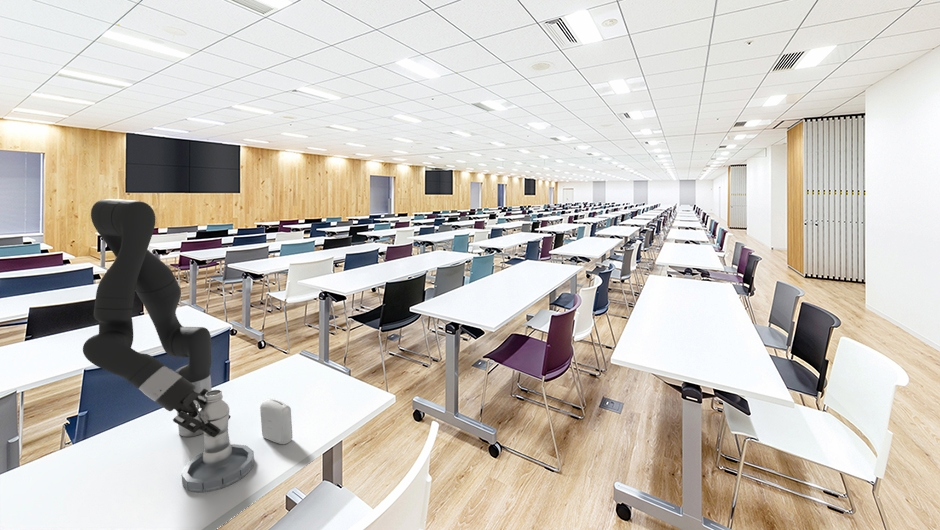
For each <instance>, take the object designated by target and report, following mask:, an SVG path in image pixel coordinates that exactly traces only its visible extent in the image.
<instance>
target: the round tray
mask: <svg viewBox="0 0 940 530" xmlns="http://www.w3.org/2000/svg"><path fill="white" fill-rule="evenodd" d="M231 447H232V456H231V458H230V460H229V461H228V462H227V463H226V464H225V465H223V466H221V467H218V468H207V467H206V466H205V465H204V462H203V452H202V453H200V454H198V455H197V456H195V457H193V458H192V459H191V460H190V461H188V462H187V463H186V464H185V465H184V468H183V469H182V472H181V475H180V476H181V484H182V486H183V488H184V489H186V490H187V491H189V492H193V493H207V492H213V491H217V490H220V489H221V490H222V489H225V488H226V487H229V486H231V485H233V484H235V483H237V482H239V481H241V480H242V479H243V478H245V477H246V476H247V475H248V474H249V473H250V471H251V470H252V469H253V467H254V465H255V455H254V453H255V452H254V450H253V449H252V448H250V447H249V446H248V445H247V444H246V445H244V444H235V443H234V444H231Z"/></svg>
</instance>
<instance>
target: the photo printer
mask: <svg viewBox="0 0 940 530" xmlns="http://www.w3.org/2000/svg"><path fill="white" fill-rule="evenodd" d="M259 409H260V410H259V411H260V424H261V435H262V437H263V438H264V439H266V440H269V441H271V442H273V443H276V444H278V445H279V444H280V445H286V444H288V443H290V442H292V439H293V424H292V410H291V407H290V406H289V404H287V403H286V402H284V401H282V400H280V399H278V398H277V399H276V398H267V399H266V400H263V401H262V402H261V403H260V408H259Z"/></svg>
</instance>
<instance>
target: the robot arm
mask: <svg viewBox="0 0 940 530" xmlns="http://www.w3.org/2000/svg"><path fill="white" fill-rule="evenodd" d="M90 218H91V222H92V224H93V227H94V228H95V230H96V231H97V233H98V234H99V236H100V238H101V239H102V241H104V242H105V243H106V245H107V246H108V248H109V249H110V251H111V252H112V253H113V254H114V257H115V259H114V261H113V263H112V264H111V266H109V268H108V269H107V271H106V272H105V274H104V275H103V276H102V278H101V279H100V280H99V283H98V286H97V289H96V292H95V301H94V308H93V318H94V320H96V321H98V333H97V334H94V335H93V336H91V337H89V338H88V339H87V340H85V342H84V343H83V346H82V352H83V355H84V357H85V359H87V361H88V362H90V363H91V364H92V365H95V366H96V367H98V368H100V369H102V370H104V371H106V372H109V373H111V374H114V375H116V376H118V377H121V378H123V379H124V381H125V380H126V381H127V382H128V383H129V384H131V385H132V386H134V387H135V388H137V389H138V390H139V391H141V392H142V393H143V394H144V395H145V396H146V397H148V398H149V399H150V400H152V401H154V402H155V403H156V404H158V405H159V406H161V407H162V408H164V409H165V410H167V412H172V411H174V410H175V411H176V414H177V415H176V416H175V417H174V418H173V419H172V421H173V423H176V424H177V427H178V434H179V435H180V437H186V438H187V437H188V438H191V437H195V436H199V435H202V434H203V435H204V432H205V433H207V434H209V435H210V436H212V437H215V436H216V435H218V434H219V432H220V431H221V430H220V429H219V428H218V427H216V426H215V425H213V424H212V423H210V422H208V421H207V420H206V419H205V418H204V412H203V410H202V409H203V407H204V406H205V404H206V402H205V394H206V393H207V392H209V391H212V390H213V388H212V379H211V377H212V376H211V367H212V362H213V361H212V359H213V358H212V336H211V333H210V331H209V329H208V328H206V327H203V326H183V325H182V324H181V322H180V321H179V319H178V316H177V314H176V312H177V308H178V306H179V303H180V300H181V295H182V291H181V290H182V289H181V287H180V285H179V283H178V281H177V278H176V276H175V274H174V273H173V271H172V270H171V268H170V267H169V266H168V265H167V264H166V263H165V262H163V261H162V260H161V259H160V258H158V257H157V256H156V255H155V254H154V253H152V252H151V251H150V250H149V249H148V248H149V246H150V243H151V239H152V237H153V234H154V231H155V227H156V214H155V210H154V209H153V207H152V206H151V205H149V204H148V203H146V202H144V201H141V200H135V199H133V200H132V199H120V198H119V199H117V198H115V199H114V198H105V199H100V200H98V201H96V202H95V203H94V204H93V205H92V207H91V209H90ZM135 295H137V297H138V299H139V300H140V301H141V303H142V305H143V306H144V308H145V310H146V312H147V314H148V315H149V318H150V319H151V322H152V324H153V326H154V328H155V330H156V334H157V335H158V339H159V342H160V343H161V346H162V349H163V350H164V352H165V353H166V354H167V355H168V356H170V357H173V358H188V364H186V365H183V366H181V367H179V368H177V369H176V370H174V369H172V368H170V367H169V366H166V365H165V364H164V363H162V362H161V361H160V360H159V359H157V358H155V357H153V356H152V355H150V354H149V353H141V352H138V351H136V350H135V349H133V348H132V345H133V342H134V324H133V322H134V321H133V318H132V317H133V311H134V303H135ZM230 419H231V415H230V414H229V419H228V421H229V420H230ZM203 431H204V432H203Z"/></svg>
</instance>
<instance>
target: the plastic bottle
mask: <svg viewBox="0 0 940 530" xmlns="http://www.w3.org/2000/svg"><path fill="white" fill-rule="evenodd" d="M205 402H206V404H205V406H204V407H203V409H202V410H203V412H204V418H205V419H206V420H207V421H208V422H210V423H212V424H213V425H215V426H216V427H218V428H219V429H220V430H221V431H220V432H219V434H218V435H216V436H215V437H212V436H210V435H209V434H207V433H205V432H204V431H203V432H204V433H203V438H204V440H203V441H204V442H203V452H202V453H203V462H204V465H205V466H206V467H207V468H218V467H221V466H223V465H225V464H226V463H227V462H228V461H229V460H230V458H231V456H232V447H231V445H232V444H231V441H230V436H229V435H230V434H229V420H230V419H229V415H230V406H229V405H228V403H227V402H226V401H225V400H223V391H222V390H221V389H212V391H209V392H207V393H206V394H205ZM228 419H229V420H228Z"/></svg>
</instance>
